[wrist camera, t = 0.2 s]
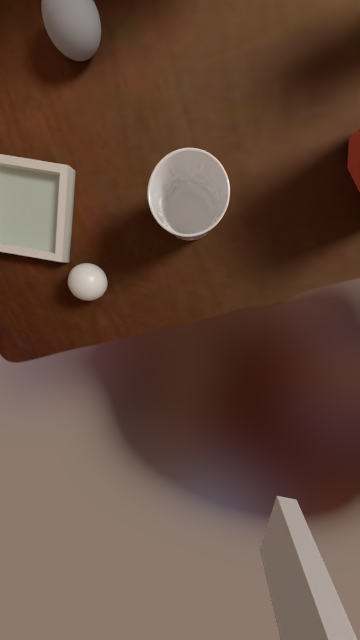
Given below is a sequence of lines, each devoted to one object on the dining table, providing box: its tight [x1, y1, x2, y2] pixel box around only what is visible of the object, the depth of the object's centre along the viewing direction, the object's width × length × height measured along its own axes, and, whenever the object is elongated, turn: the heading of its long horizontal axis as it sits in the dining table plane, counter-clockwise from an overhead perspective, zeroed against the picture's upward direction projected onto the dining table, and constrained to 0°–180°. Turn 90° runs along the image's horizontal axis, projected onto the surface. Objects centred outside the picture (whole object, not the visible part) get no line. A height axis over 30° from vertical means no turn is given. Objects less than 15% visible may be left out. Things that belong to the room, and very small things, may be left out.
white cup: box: [148, 148, 230, 241], centre depth 29 cm, size 8×8×10 cm
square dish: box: [0, 154, 75, 262], centre depth 34 cm, size 12×12×2 cm
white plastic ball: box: [68, 263, 107, 301], centre depth 34 cm, size 5×5×5 cm
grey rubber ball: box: [41, 0, 101, 61], centre depth 28 cm, size 6×6×6 cm
